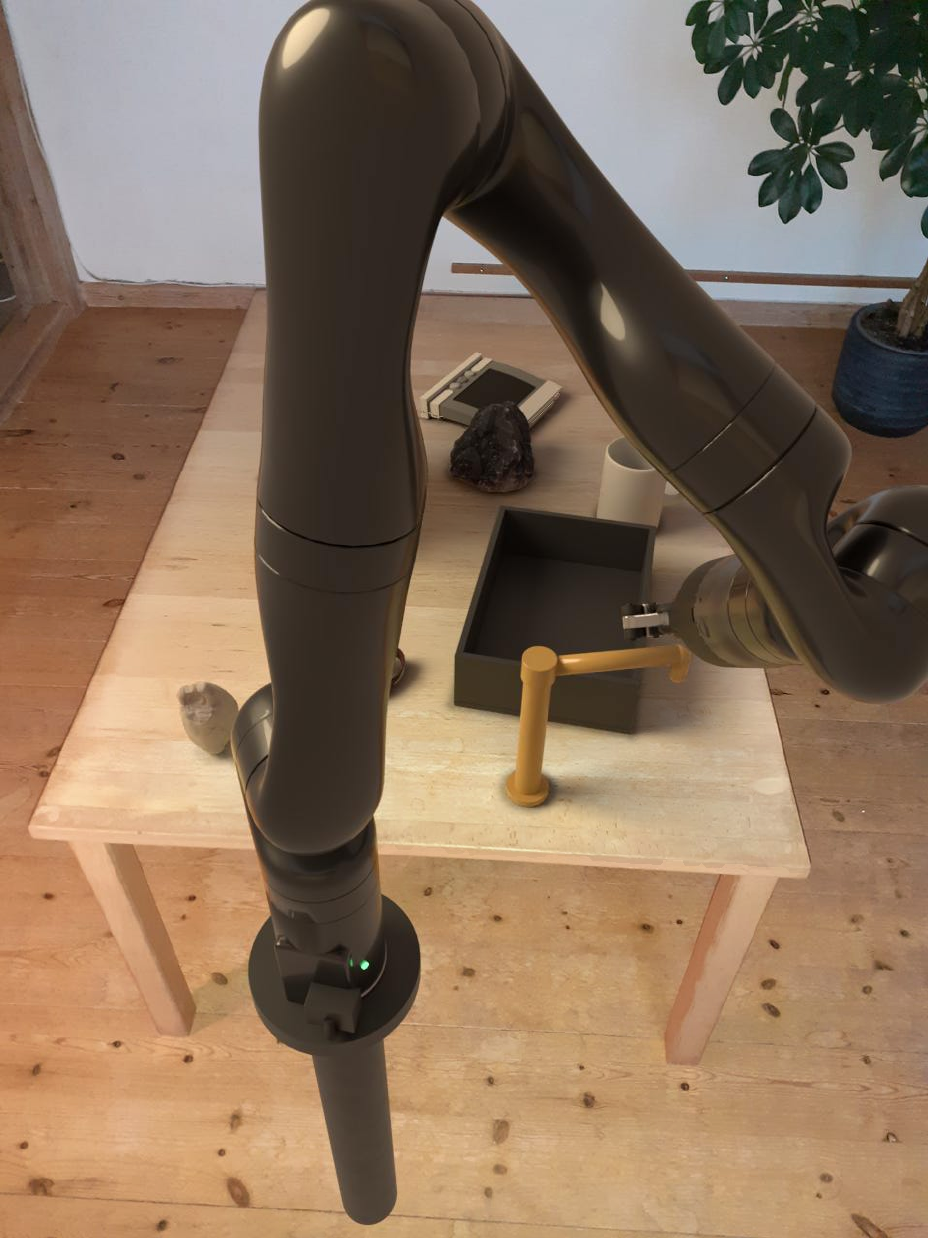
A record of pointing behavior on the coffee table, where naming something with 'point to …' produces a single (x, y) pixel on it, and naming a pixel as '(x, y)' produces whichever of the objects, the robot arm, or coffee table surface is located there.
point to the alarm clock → (488, 391)
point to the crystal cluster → (494, 450)
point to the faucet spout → (600, 663)
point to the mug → (632, 487)
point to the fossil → (207, 715)
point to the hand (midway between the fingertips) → (667, 619)
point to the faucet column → (530, 750)
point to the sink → (555, 613)
